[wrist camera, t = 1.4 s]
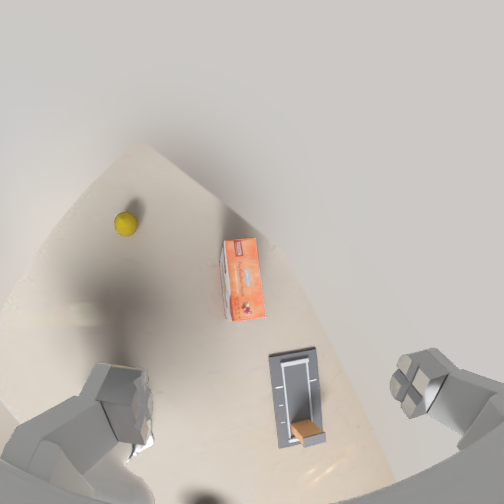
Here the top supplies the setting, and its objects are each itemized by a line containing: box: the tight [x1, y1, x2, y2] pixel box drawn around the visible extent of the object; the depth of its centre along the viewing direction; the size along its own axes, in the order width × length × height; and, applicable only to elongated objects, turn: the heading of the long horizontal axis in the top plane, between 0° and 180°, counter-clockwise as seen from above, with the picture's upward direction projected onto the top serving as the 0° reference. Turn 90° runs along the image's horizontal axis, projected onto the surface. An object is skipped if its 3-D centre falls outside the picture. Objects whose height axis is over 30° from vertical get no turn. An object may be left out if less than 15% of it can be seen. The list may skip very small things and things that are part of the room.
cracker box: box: [219, 237, 266, 322], centre depth 56 cm, size 14×6×21 cm, turn 7°
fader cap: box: [291, 419, 326, 448], centre depth 55 cm, size 3×5×10 cm, turn 97°
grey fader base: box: [269, 349, 322, 449], centre depth 61 cm, size 26×12×2 cm, turn 6°
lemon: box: [114, 212, 137, 236], centre depth 61 cm, size 6×6×8 cm
